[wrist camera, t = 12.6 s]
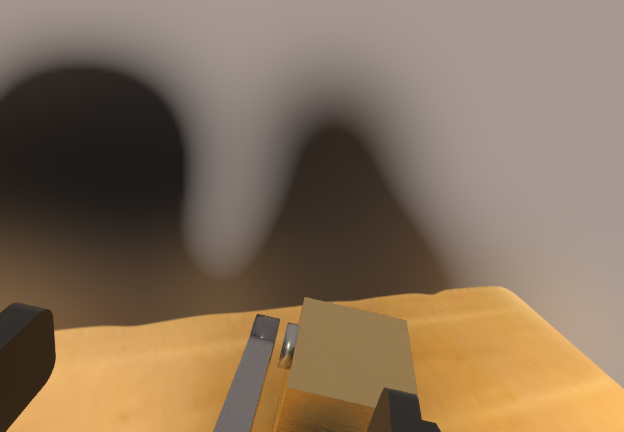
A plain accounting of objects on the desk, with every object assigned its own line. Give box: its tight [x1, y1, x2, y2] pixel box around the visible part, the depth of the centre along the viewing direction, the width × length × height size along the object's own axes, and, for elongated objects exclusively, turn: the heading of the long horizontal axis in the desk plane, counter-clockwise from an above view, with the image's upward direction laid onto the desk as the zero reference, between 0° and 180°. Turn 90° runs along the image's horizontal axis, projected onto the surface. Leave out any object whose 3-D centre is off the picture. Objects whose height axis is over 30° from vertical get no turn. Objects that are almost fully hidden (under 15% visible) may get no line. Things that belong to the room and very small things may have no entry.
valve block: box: [272, 297, 418, 432], centre depth 33 cm, size 9×21×16 cm, turn 174°
